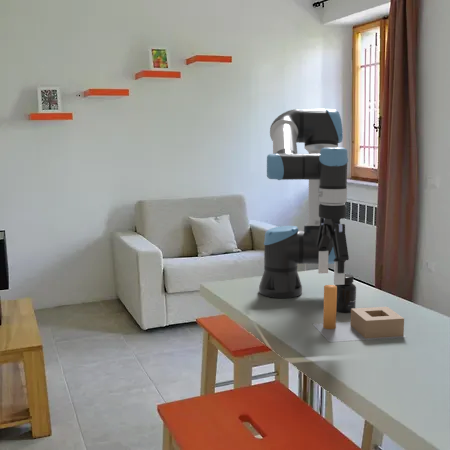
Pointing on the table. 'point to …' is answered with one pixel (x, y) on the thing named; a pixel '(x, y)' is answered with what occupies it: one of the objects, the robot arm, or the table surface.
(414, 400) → the table surface
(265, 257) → the robot arm
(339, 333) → the socket board
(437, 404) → the table surface
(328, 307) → the peg
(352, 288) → the supplement bottle
